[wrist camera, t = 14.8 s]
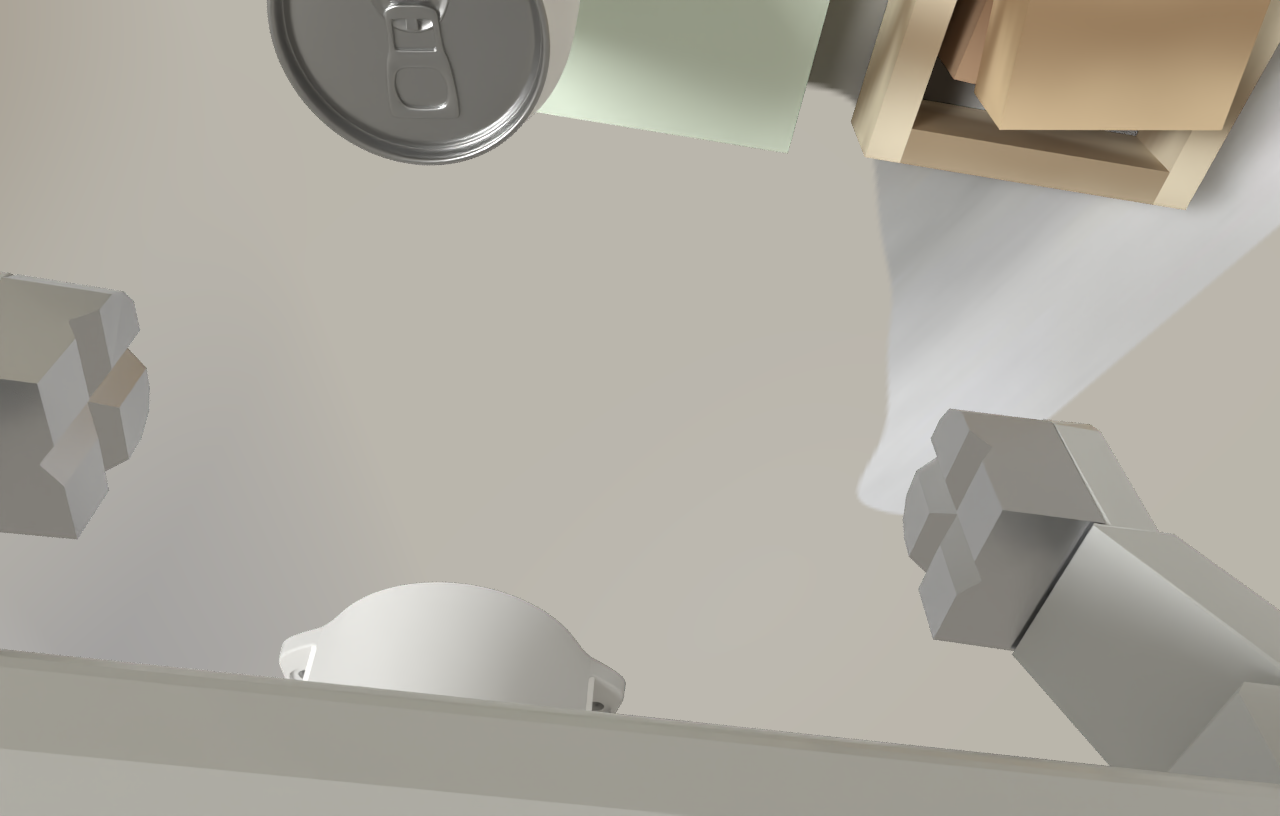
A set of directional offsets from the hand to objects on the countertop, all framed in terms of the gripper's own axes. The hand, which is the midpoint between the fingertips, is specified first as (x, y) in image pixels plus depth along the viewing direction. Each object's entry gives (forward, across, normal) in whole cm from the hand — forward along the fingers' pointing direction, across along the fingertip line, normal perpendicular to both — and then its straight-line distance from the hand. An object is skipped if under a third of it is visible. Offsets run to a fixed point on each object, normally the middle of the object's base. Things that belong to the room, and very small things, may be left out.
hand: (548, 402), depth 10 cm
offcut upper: (+23, +15, 0) cm, 28 cm away
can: (+24, -4, 0) cm, 25 cm away
